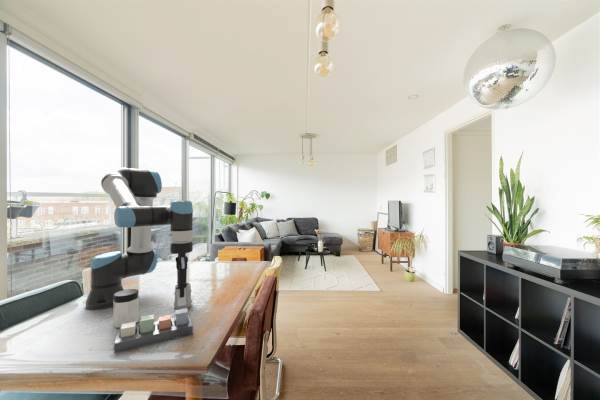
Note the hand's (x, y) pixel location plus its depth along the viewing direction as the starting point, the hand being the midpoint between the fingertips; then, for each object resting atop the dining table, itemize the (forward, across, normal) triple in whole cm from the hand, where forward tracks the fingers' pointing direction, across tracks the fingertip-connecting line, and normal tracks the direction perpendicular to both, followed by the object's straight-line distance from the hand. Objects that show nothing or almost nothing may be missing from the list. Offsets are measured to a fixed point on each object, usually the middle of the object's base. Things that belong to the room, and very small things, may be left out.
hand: (181, 304), depth 95 cm
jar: (+10, -17, -19) cm, 27 cm away
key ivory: (+8, 0, -17) cm, 18 cm away
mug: (+10, -26, +2) cm, 28 cm away
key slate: (+7, 0, 0) cm, 7 cm away
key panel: (+9, 0, -8) cm, 12 cm away
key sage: (+7, 0, -11) cm, 13 cm away
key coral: (+8, 0, -5) cm, 10 cm away
